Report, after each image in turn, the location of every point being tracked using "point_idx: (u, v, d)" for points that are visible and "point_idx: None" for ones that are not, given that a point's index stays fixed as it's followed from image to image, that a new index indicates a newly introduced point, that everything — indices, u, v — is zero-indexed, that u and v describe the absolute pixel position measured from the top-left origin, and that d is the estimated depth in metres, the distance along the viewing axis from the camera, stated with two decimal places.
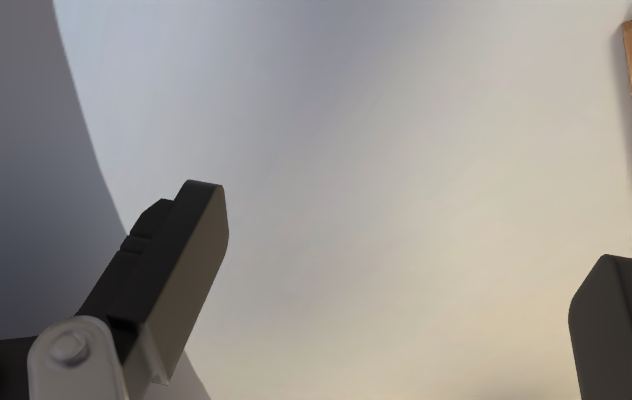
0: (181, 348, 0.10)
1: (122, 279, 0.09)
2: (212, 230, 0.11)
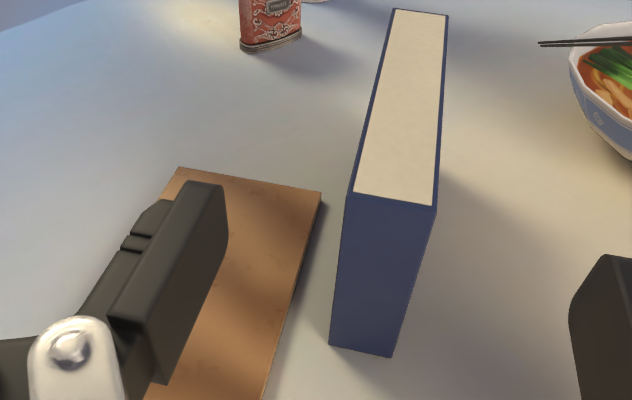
0: (181, 348, 0.10)
1: (122, 279, 0.09)
2: (212, 230, 0.11)
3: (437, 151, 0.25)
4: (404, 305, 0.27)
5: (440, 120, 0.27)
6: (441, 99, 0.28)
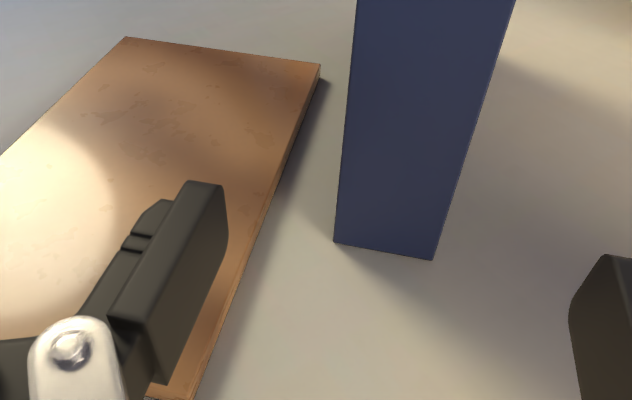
0: (181, 348, 0.10)
1: (122, 279, 0.09)
2: (212, 230, 0.11)
3: None
4: (464, 143, 0.16)
5: None
6: None
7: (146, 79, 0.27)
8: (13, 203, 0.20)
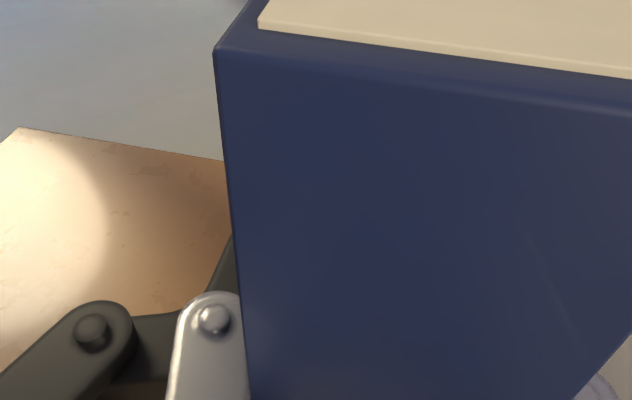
0: None
1: None
2: None
3: None
4: None
5: None
6: None
7: (29, 202, 0.19)
8: None
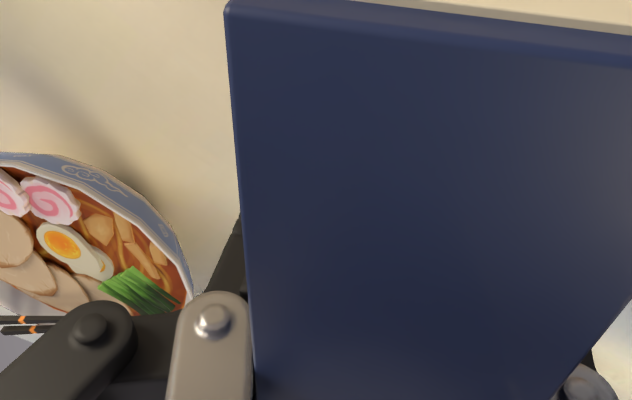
0: None
1: (240, 259, 0.10)
2: None
3: None
4: None
5: None
6: None
7: None
8: None
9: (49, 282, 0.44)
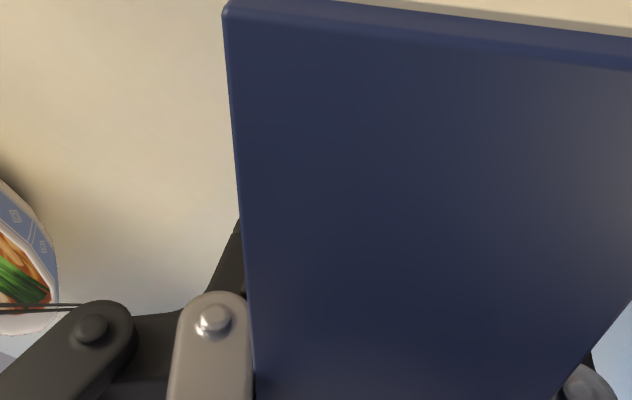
0: None
1: (241, 259, 0.10)
2: None
3: None
4: None
5: None
6: None
7: None
8: None
9: None
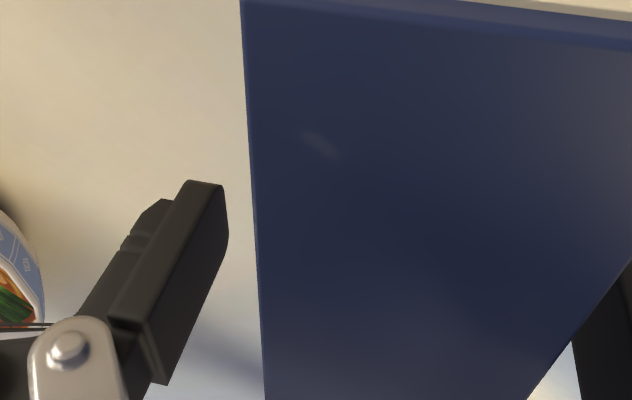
0: (181, 348, 0.10)
1: (122, 279, 0.09)
2: (212, 230, 0.11)
3: None
4: None
5: None
6: None
7: None
8: None
9: None
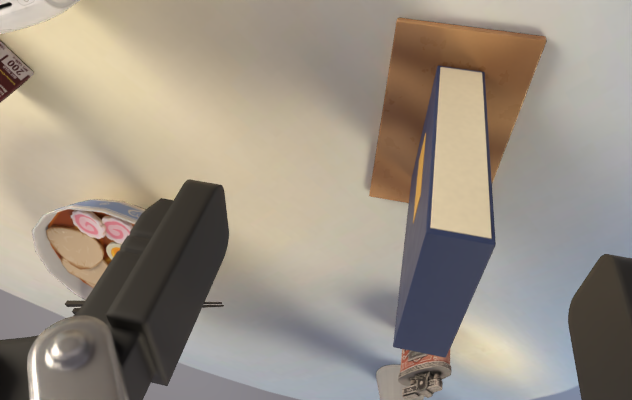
0: (181, 348, 0.10)
1: (122, 279, 0.09)
2: (212, 230, 0.11)
3: (490, 194, 0.32)
4: (462, 314, 0.34)
5: (489, 168, 0.34)
6: (487, 149, 0.35)
7: None
8: (495, 98, 0.45)
9: None
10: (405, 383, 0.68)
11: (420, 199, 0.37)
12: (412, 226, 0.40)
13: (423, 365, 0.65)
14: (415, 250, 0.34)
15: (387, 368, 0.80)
